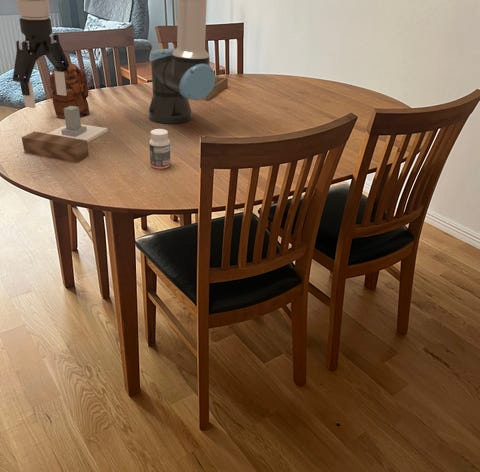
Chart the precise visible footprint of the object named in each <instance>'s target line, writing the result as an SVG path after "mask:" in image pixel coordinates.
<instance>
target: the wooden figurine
mask: <svg viewBox="0 0 480 472" xmlns="http://www.w3.org/2000/svg"><path fill="white" fill-rule="evenodd" d="M68 63H69V67H68V71H65V80H66V81H65V84H66V93H67V95H66V96H64V95H57V90H56V82H55V75H54V71H57V70H56V69H55V67H54V68H53V69H52V73H50V75H49V84H50V90H51V91H52V94H51V95H52V96H51V97H52V104H53V110H54V112H55V115H56V118H59V119H63V120H65V115H64V108H66V107H69V106H75V107H79V114H80V118H82V117H84V116H86V115H90V107H89V102H88V99H87V98H88V97H89V87H88V80H87V75H86V73H85V71H83V70H82V69H81V68H79V67H78V66H77V64H75V63H73V62H69V61H68Z"/></svg>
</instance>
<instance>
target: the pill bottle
mask: <svg viewBox="0 0 480 472" xmlns="http://www.w3.org/2000/svg"><path fill="white" fill-rule="evenodd" d="M150 137H151V138H150V140H149V142H148V143H149V159H150V166H151V167H152V168H153V169H162V170H163V169H167V168H169V167H170V166H171V165H172V159H171V158H172V157H171V140H170V139H169V138H168V137H169V133H168V130H166V129H164V128H155V129H152V130H150Z"/></svg>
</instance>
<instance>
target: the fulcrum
mask: <svg viewBox="0 0 480 472" xmlns="http://www.w3.org/2000/svg"><path fill="white" fill-rule="evenodd" d="M64 115H65V119H64V121H65V122H64V123H65V124H64V125H62V126H61V127H58V128H56V129H54V130H52V131H50V132H48V133H47V134H52V135H58V136H64V137H69V138H75V139H81V140H87V144H88V143H90V142H92V141H94V140H95V139H97V138H98V137H100V136H102V135H104V134H106V133H107V132H108V131H109V130H108V127H102V126H101V127H100V126H97V125H95V126H94V125H91V124H90V125H88V124H83V123H82V122H81V117H80V114H79V107H75V106H69V107H66V108H64Z"/></svg>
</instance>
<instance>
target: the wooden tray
mask: <svg viewBox="0 0 480 472" xmlns="http://www.w3.org/2000/svg"><path fill="white" fill-rule="evenodd" d="M228 80H229V78H228V77H224V76H216V75H215V85H214V87H213V89H212V91H211V92H210V93H209V94H208V95H207V96H206V97H205V98H203V99H200V101H202V100H203V101H207V102H208V101H210V100H212V99H213V98H214V97H216V96H217V95H218V94H220V93H221V92H223V91H225V90H226V89H227V88H228Z"/></svg>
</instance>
